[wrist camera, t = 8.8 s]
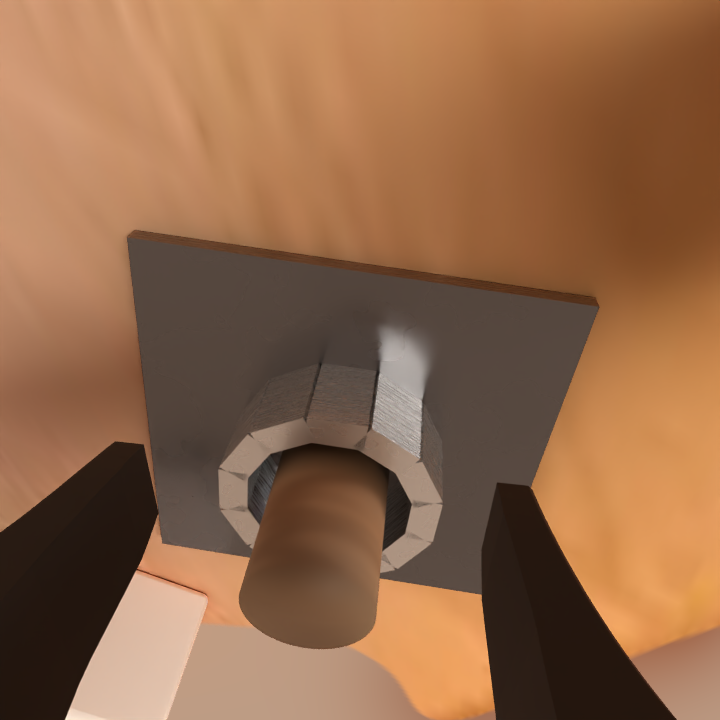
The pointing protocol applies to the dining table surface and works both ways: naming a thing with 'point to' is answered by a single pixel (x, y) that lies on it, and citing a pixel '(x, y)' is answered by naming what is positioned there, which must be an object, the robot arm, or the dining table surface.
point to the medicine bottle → (141, 653)
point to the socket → (345, 390)
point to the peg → (318, 549)
